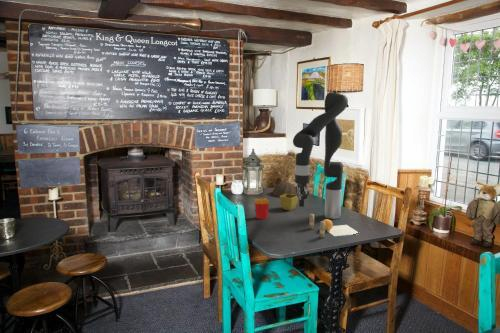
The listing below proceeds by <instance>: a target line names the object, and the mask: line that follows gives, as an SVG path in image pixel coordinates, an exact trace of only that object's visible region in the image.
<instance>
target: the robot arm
mask: <svg viewBox="0 0 500 333" xmlns="http://www.w3.org/2000/svg"><path fill="white" fill-rule="evenodd" d="M348 102H349V99H348V96H347V95H346V94H345V95H344V94H343V93H342V94H341V93H338V92H331V91H330V92H328V93H327V94H326V96H325V99H324V113H320V114H319V115H317V116H316V117H314V118H313V119H312V120H311V121H310V122H309V123H308V124H307V126H306V127H304V128H303V129H301V130H300V131H298V132H297V133H296V134H295V135H294V137H293V139H292V144H293V146H294V147H295V148H299V149H301V152H298V153H296V155H295V167H294V183H295V184H297V185H295V189H296V193H297V197H298V206H299V207H300V208H303V207H305V200H307V198H308V196H309V192H310V191H308V186H307V184H310V182H311V181H310V178H311V176H310V175H311V167H310V166H311V165H310V164H311V162H310V161H311V155H312V151H313V147H314V139H313V138H315V137H317V136H318V135H319V134H320V133H321V132H322V130H324V128H325V131H324V132H325V133H324V134H325V135H324V146H325V147H324V152H325V153H324V163H323V164H324V165H323V175H324V176H325V177H326V178H336V179H334V180H333V181H330V182H329V181H328V182H327V183H326V184H325V195H324V196H325V200H324V218H326V219H331V220H332V219H333V220H334V219H340V218H341V212H342V210H341V209H342V192H343V191H342V190H343V189H342V188H343V186H342V184H343V182H342V181H343V172H344V164H343V162H341V161H331V160H332V158H333V156H334V155H335V153H336V152H337V151H338V149H339V148H340V147H341V145H342V142H343V141H342V140H343V130H342V128H341V126H340V124H339V122H338V120H337V117H338V116H339V115H340V114H342V113H343V112H344V110H346V109H347V106H348Z"/></svg>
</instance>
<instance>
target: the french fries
mask: <svg viewBox="0 0 500 333" xmlns="http://www.w3.org/2000/svg"><path fill="white" fill-rule="evenodd" d="M269 202H270V201H269V198H267V197H264V198H254V206H255V217H256V219H258V220H266V219H268V216H269V207H270V203H269Z"/></svg>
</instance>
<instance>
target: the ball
mask: <svg viewBox="0 0 500 333" xmlns="http://www.w3.org/2000/svg"><path fill="white" fill-rule="evenodd" d="M322 221H324V222H325V231H326V230H330V229H331V228H332V227H333V226H334V225H333V221H332V219H331V220H330V218H326V219H323V220H322Z"/></svg>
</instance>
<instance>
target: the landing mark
mask: <svg viewBox="0 0 500 333" xmlns="http://www.w3.org/2000/svg"><path fill="white" fill-rule="evenodd" d="M325 232H327V233H329V234H330V235H331V236H333V237H335V238H336V237H343V236H354V235H353V234H356V233H358V231H357V230H355V229H354V228H352V227H351V226H350V225H348V224H340V225H333V227H332V228H331V229H330V230H325ZM356 235H357V234H356Z"/></svg>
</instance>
